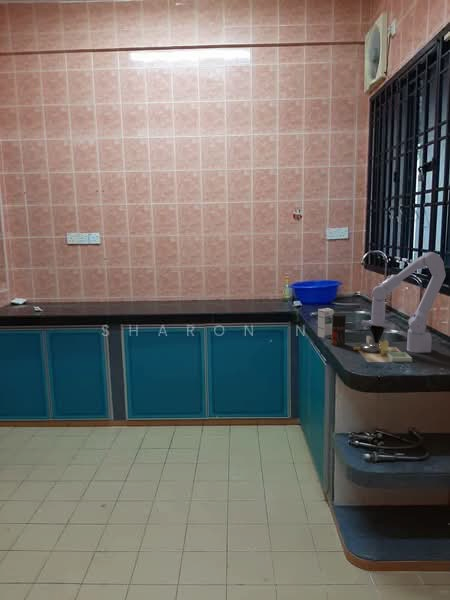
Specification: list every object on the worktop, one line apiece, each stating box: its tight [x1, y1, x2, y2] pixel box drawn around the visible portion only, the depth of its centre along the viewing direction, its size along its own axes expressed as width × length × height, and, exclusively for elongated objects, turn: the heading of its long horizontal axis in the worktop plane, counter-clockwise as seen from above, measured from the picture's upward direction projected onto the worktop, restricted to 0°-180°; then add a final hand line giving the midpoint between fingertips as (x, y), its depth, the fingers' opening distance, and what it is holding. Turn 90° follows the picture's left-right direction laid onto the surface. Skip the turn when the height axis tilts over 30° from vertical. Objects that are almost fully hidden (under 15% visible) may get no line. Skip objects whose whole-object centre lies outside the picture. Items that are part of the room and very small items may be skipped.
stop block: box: [378, 339, 390, 356], centre depth 187 cm, size 3×3×6 cm
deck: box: [357, 346, 402, 363], centre depth 188 cm, size 18×22×1 cm
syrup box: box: [317, 307, 335, 339], centre depth 220 cm, size 6×6×14 cm
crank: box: [352, 335, 379, 353], centre depth 195 cm, size 13×12×4 cm
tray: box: [386, 351, 413, 363], centre depth 181 cm, size 8×8×2 cm
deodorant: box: [331, 313, 347, 347], centre depth 203 cm, size 6×6×15 cm
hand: (377, 342), depth 198 cm, fingers closed
